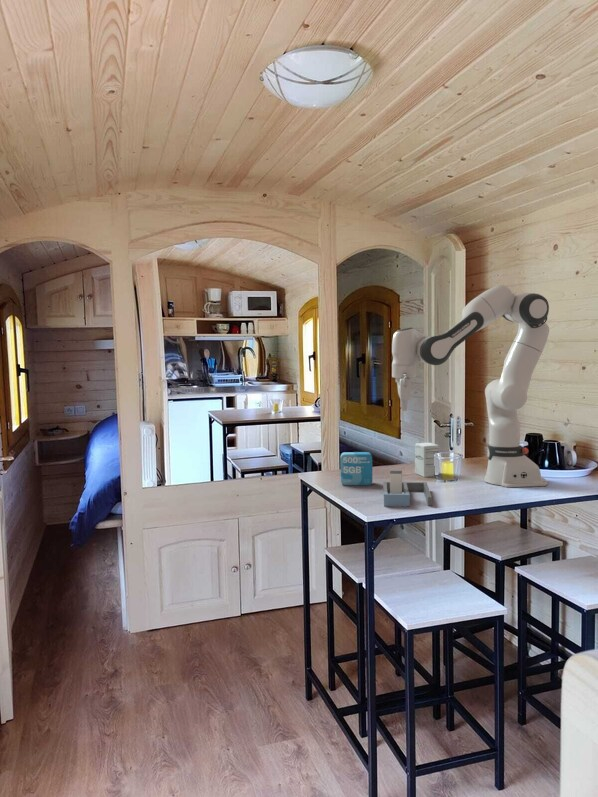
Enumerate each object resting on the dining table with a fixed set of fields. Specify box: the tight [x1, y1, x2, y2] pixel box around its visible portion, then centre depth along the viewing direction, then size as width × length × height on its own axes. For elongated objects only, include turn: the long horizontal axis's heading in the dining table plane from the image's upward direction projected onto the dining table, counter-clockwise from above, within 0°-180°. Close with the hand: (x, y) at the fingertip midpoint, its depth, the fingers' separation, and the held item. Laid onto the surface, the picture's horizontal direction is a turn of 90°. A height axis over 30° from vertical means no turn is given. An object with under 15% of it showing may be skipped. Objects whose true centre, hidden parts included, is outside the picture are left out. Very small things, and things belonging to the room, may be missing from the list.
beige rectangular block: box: [389, 467, 403, 494], centre depth 211 cm, size 4×4×10 cm
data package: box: [339, 451, 373, 486], centre depth 232 cm, size 12×4×12 cm, turn 87°
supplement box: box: [414, 442, 440, 478], centre depth 245 cm, size 7×7×13 cm
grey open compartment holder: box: [382, 481, 433, 508], centre depth 211 cm, size 16×22×4 cm
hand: (404, 410), depth 222 cm, fingers closed
